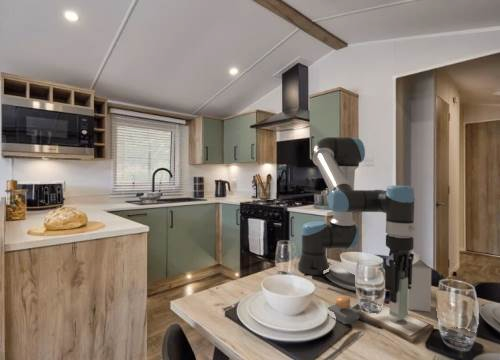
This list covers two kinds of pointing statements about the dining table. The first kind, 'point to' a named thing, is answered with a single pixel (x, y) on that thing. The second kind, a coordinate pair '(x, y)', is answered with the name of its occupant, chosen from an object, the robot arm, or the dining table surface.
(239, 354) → the dining table surface
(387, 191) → the robot arm
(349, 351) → the dining table surface
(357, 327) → the dining table surface
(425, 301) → the milk carton
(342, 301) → the button
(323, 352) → the dining table surface
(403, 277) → the green tall block
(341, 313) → the button base
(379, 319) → the wooden tray
